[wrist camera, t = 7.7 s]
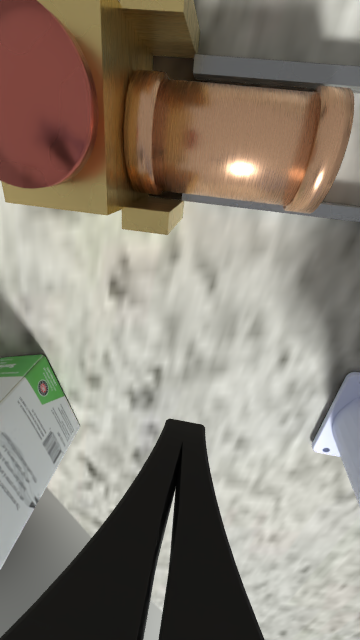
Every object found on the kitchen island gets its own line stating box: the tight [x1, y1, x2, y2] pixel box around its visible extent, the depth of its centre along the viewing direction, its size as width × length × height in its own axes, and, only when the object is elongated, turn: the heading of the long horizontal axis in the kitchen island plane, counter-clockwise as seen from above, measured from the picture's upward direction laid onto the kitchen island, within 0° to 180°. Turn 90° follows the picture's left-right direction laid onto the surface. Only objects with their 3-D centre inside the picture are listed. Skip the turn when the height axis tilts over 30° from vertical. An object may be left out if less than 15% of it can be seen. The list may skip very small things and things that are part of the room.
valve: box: [0, 0, 200, 235], centre depth 11 cm, size 9×8×8 cm
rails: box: [182, 54, 360, 222], centre depth 13 cm, size 11×6×1 cm, turn 85°
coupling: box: [123, 70, 354, 214], centre depth 12 cm, size 8×4×4 cm, turn 85°
